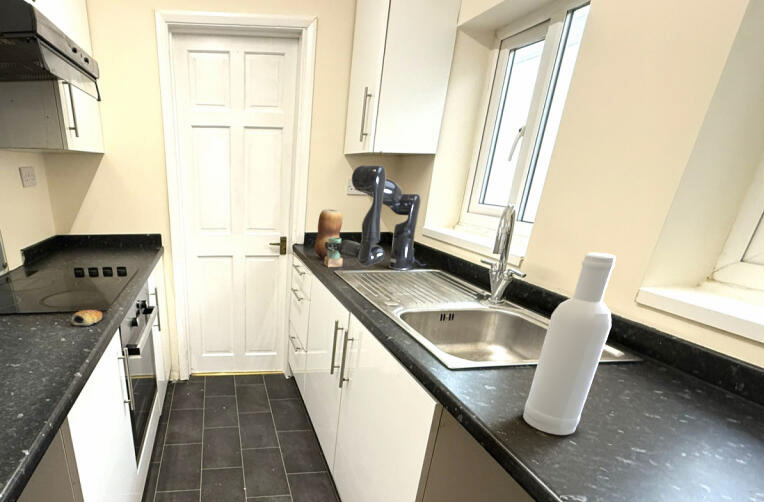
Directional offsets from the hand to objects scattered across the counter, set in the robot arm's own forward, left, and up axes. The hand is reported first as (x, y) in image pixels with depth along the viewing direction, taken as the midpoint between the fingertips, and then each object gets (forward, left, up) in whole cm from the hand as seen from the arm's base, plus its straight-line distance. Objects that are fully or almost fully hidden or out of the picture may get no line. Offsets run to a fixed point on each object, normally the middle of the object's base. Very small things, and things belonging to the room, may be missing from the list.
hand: (331, 244), depth 198 cm
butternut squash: (-3, -14, -10) cm, 17 cm away
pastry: (+100, +70, -10) cm, 122 cm away
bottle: (+6, +139, -10) cm, 140 cm away
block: (-1, +2, -10) cm, 10 cm away
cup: (0, +2, -6) cm, 6 cm away
